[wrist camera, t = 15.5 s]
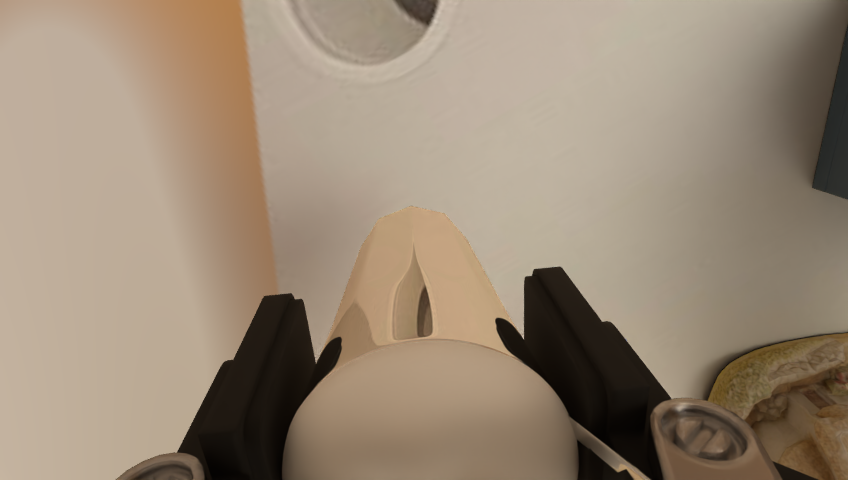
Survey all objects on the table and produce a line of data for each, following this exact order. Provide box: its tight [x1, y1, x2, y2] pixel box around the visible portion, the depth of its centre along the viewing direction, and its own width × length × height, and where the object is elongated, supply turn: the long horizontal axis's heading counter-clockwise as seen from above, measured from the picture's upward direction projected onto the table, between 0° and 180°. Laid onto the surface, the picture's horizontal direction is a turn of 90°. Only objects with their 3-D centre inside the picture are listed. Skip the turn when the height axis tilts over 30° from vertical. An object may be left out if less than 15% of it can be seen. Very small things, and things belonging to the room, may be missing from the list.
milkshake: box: [282, 206, 652, 480], centre depth 10 cm, size 4×5×10 cm
